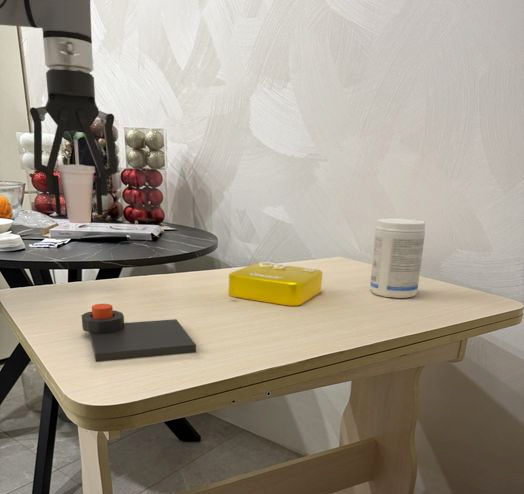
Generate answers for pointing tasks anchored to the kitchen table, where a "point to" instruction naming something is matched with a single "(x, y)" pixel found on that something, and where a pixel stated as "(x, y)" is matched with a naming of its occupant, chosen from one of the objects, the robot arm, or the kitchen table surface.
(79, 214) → the smoothie
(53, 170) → the robot arm
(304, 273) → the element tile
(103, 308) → the scale button
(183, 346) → the scale
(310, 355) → the kitchen table surface
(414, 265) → the supplement tub
